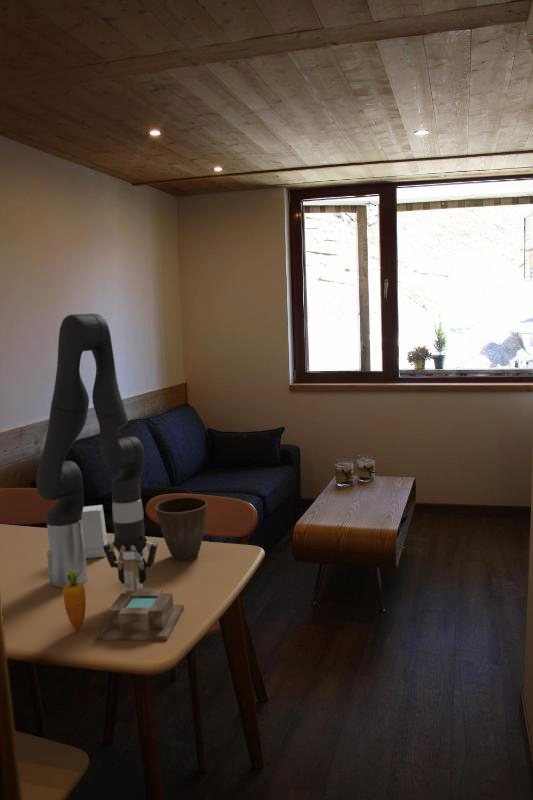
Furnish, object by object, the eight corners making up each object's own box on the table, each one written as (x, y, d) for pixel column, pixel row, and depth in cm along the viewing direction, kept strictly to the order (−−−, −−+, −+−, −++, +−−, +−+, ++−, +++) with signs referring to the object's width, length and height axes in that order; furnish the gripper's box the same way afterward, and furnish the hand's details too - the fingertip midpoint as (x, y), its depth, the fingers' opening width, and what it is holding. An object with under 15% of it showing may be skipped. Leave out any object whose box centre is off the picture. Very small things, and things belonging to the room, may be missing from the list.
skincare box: (108, 550, 215) (104, 504, 213) (105, 557, 209) (101, 509, 207) (80, 552, 214) (76, 505, 212) (76, 559, 208) (72, 511, 206)
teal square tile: (125, 613, 161) (124, 609, 161) (132, 602, 167) (132, 598, 166) (150, 613, 160) (150, 609, 160) (157, 602, 166) (157, 598, 166)
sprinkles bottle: (146, 600, 177) (142, 549, 175) (129, 605, 174) (125, 553, 172) (139, 594, 180) (135, 544, 179) (122, 599, 178) (118, 549, 176)
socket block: (97, 639, 157) (95, 616, 156) (120, 608, 173) (118, 587, 172) (167, 640, 155) (165, 617, 154) (183, 608, 171) (182, 587, 170)
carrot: (68, 627, 164) (63, 566, 162) (90, 625, 164) (84, 564, 162) (64, 637, 159) (58, 574, 157) (86, 635, 159) (81, 572, 157)
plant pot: (190, 569, 196) (187, 514, 194) (149, 562, 203) (145, 509, 201) (219, 551, 209) (216, 500, 207) (179, 545, 216) (176, 495, 214)
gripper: (95, 522, 171) (101, 588, 174) (151, 521, 170) (156, 588, 172) (105, 513, 179) (111, 576, 181) (159, 512, 177) (164, 576, 179)
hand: (133, 582), depth 177 cm, fingers closed on sprinkles bottle, 4 cm apart
